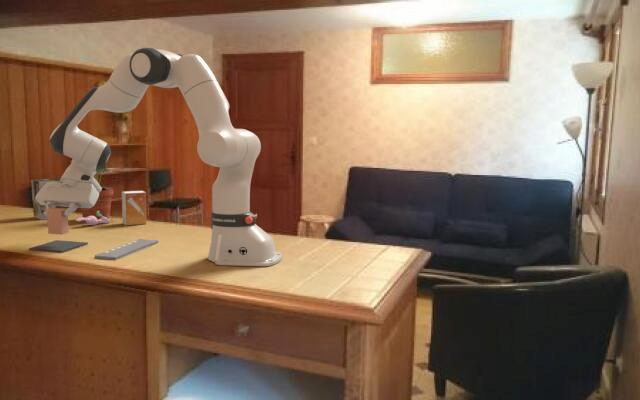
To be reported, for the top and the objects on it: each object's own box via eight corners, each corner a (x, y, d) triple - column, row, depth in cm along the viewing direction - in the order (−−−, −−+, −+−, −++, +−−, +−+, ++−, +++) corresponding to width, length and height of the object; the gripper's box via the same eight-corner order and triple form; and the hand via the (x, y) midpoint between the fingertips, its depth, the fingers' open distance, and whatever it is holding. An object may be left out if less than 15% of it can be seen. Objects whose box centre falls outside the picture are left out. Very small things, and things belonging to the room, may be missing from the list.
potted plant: (93, 215, 223) (90, 134, 218) (122, 218, 218) (119, 135, 213) (65, 221, 209) (60, 135, 204) (94, 224, 204) (91, 135, 199)
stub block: (68, 232, 166) (67, 208, 165) (61, 234, 163) (60, 209, 162) (54, 231, 167) (53, 207, 166) (48, 233, 164) (47, 208, 163)
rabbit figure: (105, 225, 211) (71, 224, 198) (106, 210, 211) (73, 209, 198) (115, 226, 207) (81, 226, 195) (116, 212, 208) (83, 210, 195)
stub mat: (87, 244, 170) (87, 242, 170) (62, 252, 159) (62, 250, 158) (56, 241, 173) (56, 240, 173) (29, 250, 161) (29, 248, 161)
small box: (126, 225, 202) (125, 193, 201) (122, 223, 208) (121, 191, 206) (147, 224, 207) (146, 192, 205) (142, 221, 212) (141, 190, 210)
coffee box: (57, 218, 215) (55, 180, 213) (40, 220, 211) (38, 181, 208) (49, 215, 222) (47, 178, 219) (33, 217, 217) (30, 179, 215)
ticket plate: (158, 242, 174) (158, 240, 174) (115, 259, 151) (115, 256, 151) (139, 241, 176) (139, 238, 176) (94, 258, 153) (94, 255, 153)
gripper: (43, 174, 171) (22, 207, 163) (97, 177, 167) (78, 211, 159) (53, 186, 176) (33, 219, 168) (106, 189, 172) (88, 223, 164)
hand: (56, 215), depth 164 cm, fingers closed on stub block, 5 cm apart
